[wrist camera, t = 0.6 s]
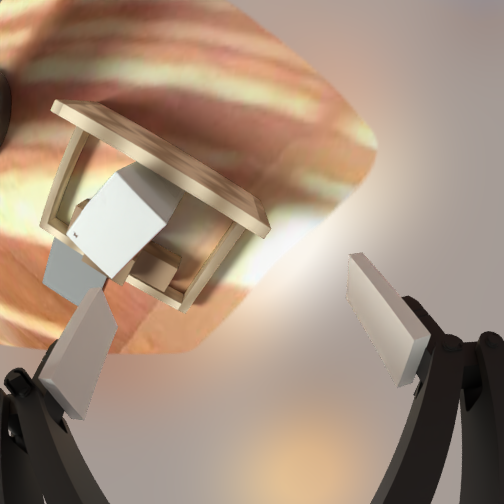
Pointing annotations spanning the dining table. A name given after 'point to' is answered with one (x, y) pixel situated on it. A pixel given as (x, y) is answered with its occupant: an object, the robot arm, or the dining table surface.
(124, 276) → the offcut
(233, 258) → the dining table surface
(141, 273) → the offcut
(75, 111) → the tray
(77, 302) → the mat
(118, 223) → the small box
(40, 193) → the dining table surface
